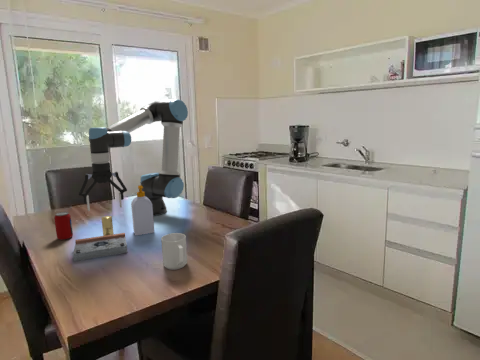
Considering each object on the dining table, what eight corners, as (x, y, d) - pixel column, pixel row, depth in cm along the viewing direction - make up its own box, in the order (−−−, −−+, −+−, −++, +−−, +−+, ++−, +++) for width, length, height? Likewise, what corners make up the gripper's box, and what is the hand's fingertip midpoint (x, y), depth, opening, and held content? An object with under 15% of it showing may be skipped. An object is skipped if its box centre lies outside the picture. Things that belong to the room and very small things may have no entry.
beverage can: (76, 236, 158) (73, 211, 155) (64, 241, 151) (61, 216, 149) (65, 234, 160) (62, 210, 158) (53, 239, 154) (50, 214, 151)
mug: (160, 263, 126) (158, 236, 123) (182, 258, 130) (180, 231, 128) (170, 276, 115) (168, 246, 113) (194, 269, 120) (192, 240, 118)
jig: (125, 241, 150) (124, 232, 149) (127, 252, 137) (126, 243, 136) (76, 248, 142) (75, 239, 142) (74, 261, 130) (72, 251, 129)
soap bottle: (152, 228, 166) (148, 183, 162) (154, 232, 160) (150, 186, 155) (133, 231, 163) (129, 185, 158) (135, 235, 156) (130, 188, 152)
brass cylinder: (113, 235, 157) (111, 215, 155) (114, 238, 153) (111, 217, 151) (103, 237, 156) (101, 216, 154) (103, 240, 152) (101, 219, 150)
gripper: (129, 159, 156) (132, 203, 159) (70, 163, 147) (75, 209, 150) (130, 161, 149) (134, 207, 153) (68, 165, 140) (74, 213, 143)
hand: (105, 208), depth 151 cm, fingers open, 13 cm apart
